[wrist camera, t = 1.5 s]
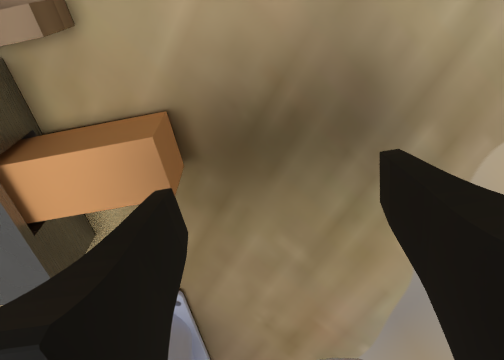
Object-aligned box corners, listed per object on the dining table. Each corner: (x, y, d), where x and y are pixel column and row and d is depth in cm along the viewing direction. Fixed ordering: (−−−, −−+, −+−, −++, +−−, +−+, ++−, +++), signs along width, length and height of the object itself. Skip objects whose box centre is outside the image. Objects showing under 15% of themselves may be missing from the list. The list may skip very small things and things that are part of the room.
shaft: (166, 111, 18) (152, 136, 16) (184, 165, 20) (174, 198, 17) (-119, 166, 20) (-178, 199, 17) (-81, 213, 21) (-129, 250, 19)
